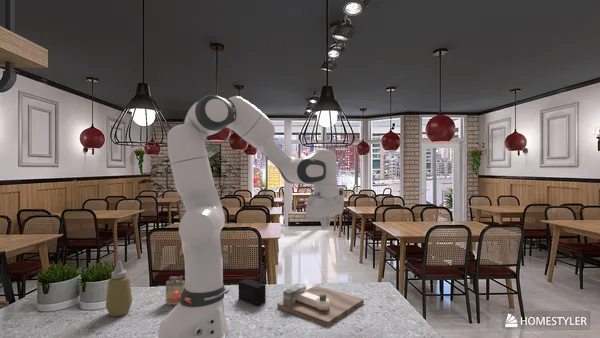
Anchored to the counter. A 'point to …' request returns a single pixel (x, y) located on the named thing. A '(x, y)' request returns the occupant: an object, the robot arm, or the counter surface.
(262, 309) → the counter surface
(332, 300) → the pivot base
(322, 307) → the link
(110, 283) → the squeeze bottle
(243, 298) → the digital camera
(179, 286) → the small jar
